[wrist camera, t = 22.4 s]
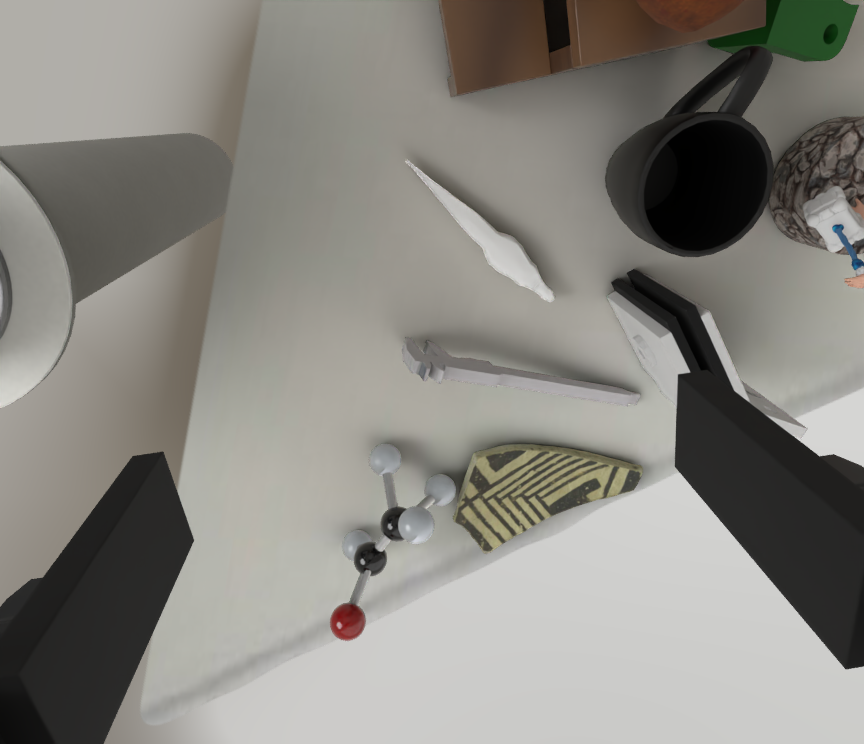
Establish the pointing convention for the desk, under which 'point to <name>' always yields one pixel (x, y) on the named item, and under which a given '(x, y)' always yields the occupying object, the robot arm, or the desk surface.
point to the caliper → (504, 376)
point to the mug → (697, 166)
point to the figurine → (824, 190)
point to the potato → (687, 12)
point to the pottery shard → (533, 488)
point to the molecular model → (386, 535)
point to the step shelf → (589, 36)
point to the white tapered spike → (491, 241)
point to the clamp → (797, 29)
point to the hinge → (681, 341)
